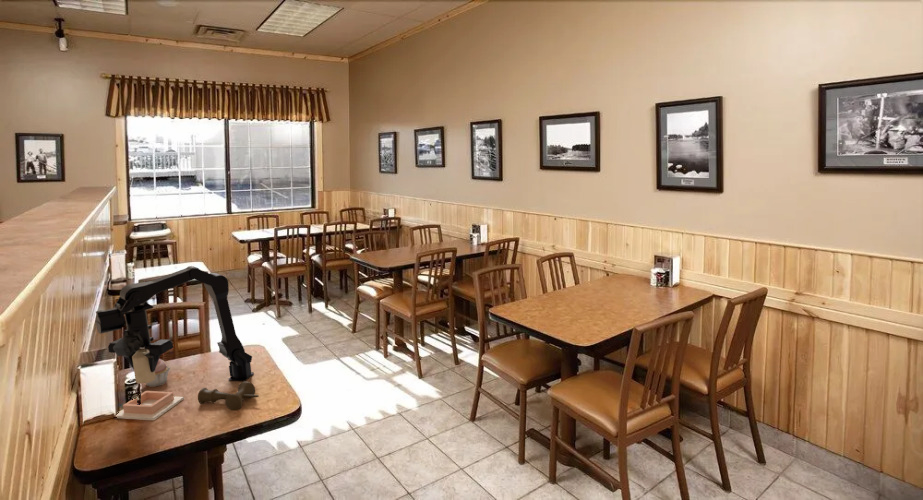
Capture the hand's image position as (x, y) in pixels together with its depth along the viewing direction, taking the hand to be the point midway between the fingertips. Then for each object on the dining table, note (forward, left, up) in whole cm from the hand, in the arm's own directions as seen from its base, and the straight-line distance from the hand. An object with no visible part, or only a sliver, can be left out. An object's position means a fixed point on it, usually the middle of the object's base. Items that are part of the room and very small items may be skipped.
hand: (144, 371), depth 169 cm
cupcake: (+11, -17, -13) cm, 24 cm away
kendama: (-24, -6, -13) cm, 28 cm away
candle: (0, 0, -3) cm, 3 cm away
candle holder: (0, 0, -13) cm, 13 cm away
